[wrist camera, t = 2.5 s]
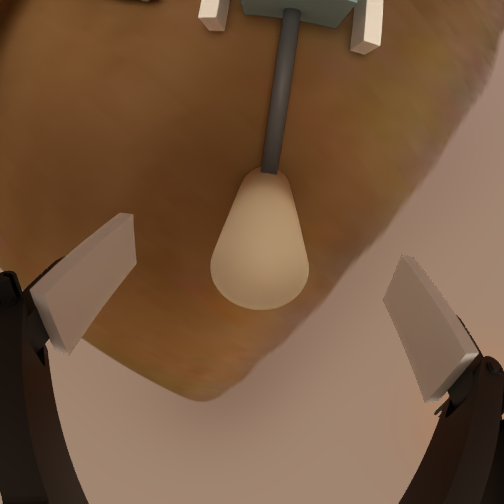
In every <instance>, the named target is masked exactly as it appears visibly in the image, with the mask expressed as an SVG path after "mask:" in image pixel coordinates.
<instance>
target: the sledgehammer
mask: <svg viewBox="0 0 504 504" xmlns="http://www.w3.org/2000/svg"><path fill="white" fill-rule="evenodd" d="M240 1H241V4H242V8H243V11H244V14H245V15H257V16H267V17H276V18H282V25H281V32H280V39H279V45H278V52H277V59H276V66H275V73H274V80H273V87H272V94H271V101H270V108H269V115H268V122H267V129H266V136H265V143H264V150H263V157H262V164H261V167H258V168H255V169H253V170H251V171H250V172H249V173H248V174H247V175H246V176H245V177H244V179H243V181H242V183H241V185H240V188H239V190H238V193H237V195H236V197H235V200H234V202H233V205H232V207H231V210H230V212H229V214H228V217H227V219H226V222H225V224H224V227H223V229H222V232H221V234H220V237H219V239H218V242H217V244H216V247H215V249H214V252H213V255H212V258H211V264H210V271H211V276H212V279H213V282H214V284H215V286H216V287H217V289H218V290H219V292H220V293H221V294H222V295H223V296H224V297H225V298H227V299H228V300H229V301H231V302H233V303H234V304H236V305H239V306H241V307H244V308H248V309H253V310H268V309H274V308H277V307H280V306H283V305H285V304H287V303H289V302H290V301H292V300H293V299H294V298H296V297H297V296H298V295H299V294H300V292H301V291H302V290H303V288H304V286H305V284H306V282H307V279H308V274H309V265H308V259H307V254H306V250H305V245H304V241H303V237H302V232H301V228H300V224H299V219H298V215H297V211H296V207H295V203H294V199H293V195H292V191H291V187H290V184H289V181H288V179H287V177H286V176H285V175H284V174H283V173H282V172H281V171H279V170H278V166H279V159H280V153H281V147H282V140H283V134H284V127H285V121H286V114H287V107H288V101H289V94H290V87H291V80H292V73H293V66H294V59H295V52H296V45H297V38H298V31H299V24H300V21H302V22H307V23H313V24H317V25H322V26H326V27H331V28H335V29H336V28H337V26H338V25H339V24H340V23H341V22H342V20H343V19H344V18H345V17H346V16H347V14H348V13H349V12H350V11H351V10H352V8H353V7H354V6H355V5H356V4H357V0H240Z"/></svg>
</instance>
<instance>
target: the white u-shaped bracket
mask: <svg viewBox="0 0 504 504" xmlns="http://www.w3.org/2000/svg"><path fill="white" fill-rule="evenodd" d="M229 4H230V0H202V1H201V6H200V11H199V16H198V18H199V19H200V20H201V21H202V23H203V24H204V25H205V26H206V28H207V29H208V30H209V31H225V26H226V21H227V15H228V9H229ZM382 16H383V0H357V4H356V5H355V6H354V15H353V26H352V36H351V45H350V51H353V52H356V53H360V54H363V55H365V54H367V53H368V52H370V51H372V50H374V49H376V48H378V47H379V46H380V43H381V31H382Z"/></svg>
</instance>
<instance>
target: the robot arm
mask: <svg viewBox="0 0 504 504" xmlns="http://www.w3.org/2000/svg"><path fill="white" fill-rule="evenodd" d="M136 264H137V261H136V250H135V237H134V221H133V214H128V213H119V214H117V215H116V216H115V217H113V218H112V219H111V220H109V221H108V222H107V223H106V224H104V225H103V226H102V227H100V228H99V229H98V230H97V231H95V232H94V233H93V234H92V235H90V236H89V237H88V238H87V239H85V240H84V241H83V242H82V243H81V244H79V245H78V246H77V247H76V248H75V249H73V250H72V251H71V252H70V253H69V254H68V255H67V256H64V257H62V258H60V259H58V260H56V261H55V262H54V263H53V264H51V265H50V266H49V267H48V269H46V270H45V271H44V272H43V273H42V274H40V275H39V276H38V277H37V278H36V279H35V280H34V281H33V282H32V283H31V284H30V285H29V286H28V287H27V288H26V289H25V290H24V291H23V292H22V289H21V286H20V284H19V281H18V278H17V275H16V273H15V272H13V271H4V272H1V273H0V492H1V496H2V501H3V504H89V503H88V501H87V499H86V497H85V495H84V492H83V490H82V488H81V485H80V483H79V480H78V478H77V475H76V472H75V470H74V467H73V464H72V461H71V458H70V456H69V452H68V449H67V446H66V443H65V439H64V436H63V432H62V428H61V424H60V421H59V417H58V412H57V407H56V403H55V397H54V393H53V387H52V380H51V374H50V367H49V359H48V350H47V348H46V345H45V343H46V342H47V341H48V339H50V341H51V343H52V345H53V347H54V349H55V350H58V351H60V352H62V353H64V354H67V355H70V354H71V352H72V350H73V349H74V348H75V346H76V345H77V343H78V342H79V340H80V339H81V337H82V336H83V334H84V333H85V332H86V330H87V329H88V327H89V326H90V324H91V323H92V322H93V320H94V319H95V317H96V316H97V315H98V313H99V312H100V311H101V309H102V308H103V306H104V305H105V304H106V302H107V301H108V300H109V298H110V297H111V296H112V294H113V293H114V292H115V291H116V289H117V288H118V287H119V285H120V284H121V283H122V281H123V280H124V279H125V278H126V276H127V275H128V274H129V273H130V271H131V270H132V269H133V268H134V266H135V265H136ZM383 301H384V303H385V305H386V308H387V310H388V312H389V314H390V316H391V319H392V321H393V323H394V325H395V327H396V330H397V332H398V334H399V337H400V339H401V341H402V344H403V346H404V348H405V351H406V353H407V356H408V358H409V361H410V364H411V366H412V369H413V371H414V374H415V377H416V379H417V382H418V385H419V388H420V391H421V393H422V396H423V399H424V402H425V403H426V402H433V401H438V400H439V399H440V398H441V397H442V396H443V395H444V394H445V393H446V392H447V391H448V394H449V396H450V397H449V398H448V399H447V400H446V401H445V402H444V403H443V404H442V406H440V407H439V408H438V409H437V410H436V412H435V413H434V414H435V415H436V414H438V413H439V412H440V411H442V412H441V415H440V416H439V417H440V418H439V421H438V424H437V426H436V429H435V431H434V434H433V437H432V439H431V441H430V444H429V446H428V448H427V451H426V453H425V455H424V457H423V459H422V461H421V464H420V466H419V468H418V470H417V472H416V474H415V475H414V477H413V479H412V481H411V483H410V485H409V487H408V489H407V490H406V492H405V494H404V495H403V497H402V499H401V500H400V502H399V504H504V419H503V420H502V414H503V413H504V371H503V368H502V367H501V365H500V364H499V362H498V361H497V360H495V359H494V358H492V357H490V356H485V357H483V355H482V353H481V351H480V350H479V348H478V346H477V345H476V343H475V341H474V340H473V338H472V336H471V335H469V332H468V330H467V328H465V325H464V324H463V322H462V321H461V319H460V318H459V317H458V316H457V315H456V314H455V313H454V311H453V310H452V308H451V307H450V305H449V304H448V303H447V301H446V300H445V298H444V297H443V296H442V294H441V293H440V291H439V290H438V289H437V287H436V286H435V285H434V283H433V282H432V280H431V279H430V278H429V276H428V275H427V274H426V272H425V271H424V270H423V269H422V267H421V266H420V265H419V263H418V262H417V261H416V260H415V258H414V257H410V256H405V255H401V258H400V260H399V263H398V265H397V268H396V270H395V273H394V275H393V278H392V280H391V282H390V285H389V287H388V289H387V292H386V294H385V296H384V298H383Z"/></svg>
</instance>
